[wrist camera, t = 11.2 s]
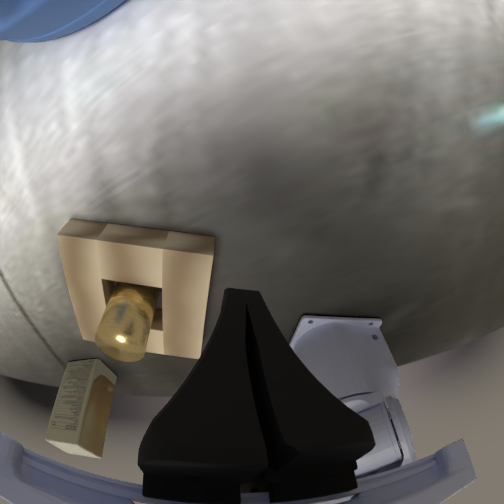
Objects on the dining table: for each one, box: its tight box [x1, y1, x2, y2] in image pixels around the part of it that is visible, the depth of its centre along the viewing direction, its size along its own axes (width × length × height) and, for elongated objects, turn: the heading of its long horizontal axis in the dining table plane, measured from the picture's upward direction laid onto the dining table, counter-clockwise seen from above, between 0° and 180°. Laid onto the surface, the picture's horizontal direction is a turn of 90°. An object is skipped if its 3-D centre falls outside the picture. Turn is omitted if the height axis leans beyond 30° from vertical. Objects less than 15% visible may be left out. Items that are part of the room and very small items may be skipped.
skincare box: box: [45, 359, 117, 458], centre depth 26 cm, size 6×4×12 cm
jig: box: [57, 219, 215, 359], centre depth 23 cm, size 12×12×2 cm
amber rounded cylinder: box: [95, 281, 161, 362], centre depth 21 cm, size 4×4×7 cm
